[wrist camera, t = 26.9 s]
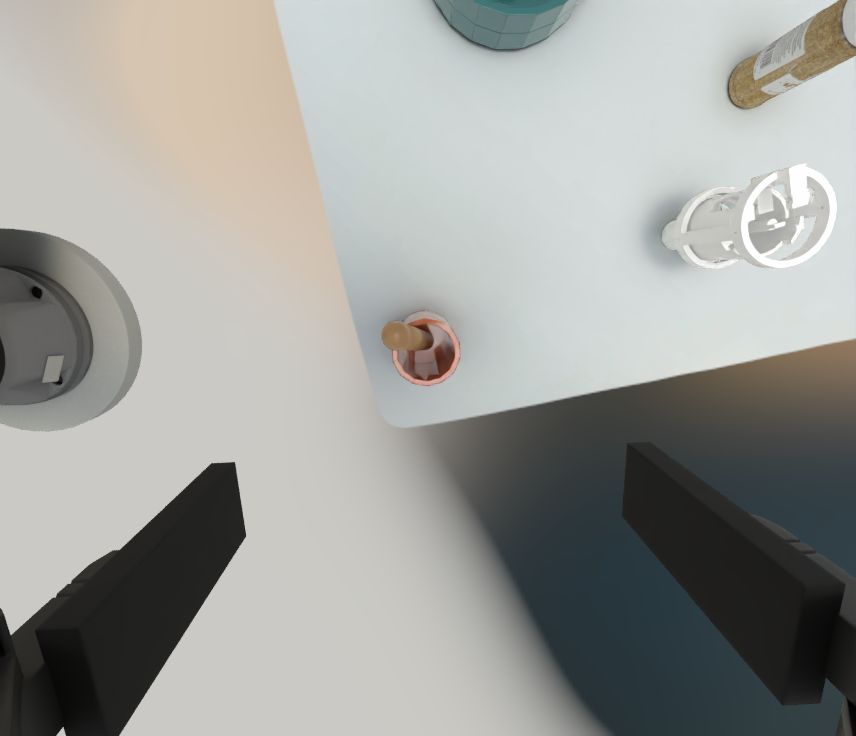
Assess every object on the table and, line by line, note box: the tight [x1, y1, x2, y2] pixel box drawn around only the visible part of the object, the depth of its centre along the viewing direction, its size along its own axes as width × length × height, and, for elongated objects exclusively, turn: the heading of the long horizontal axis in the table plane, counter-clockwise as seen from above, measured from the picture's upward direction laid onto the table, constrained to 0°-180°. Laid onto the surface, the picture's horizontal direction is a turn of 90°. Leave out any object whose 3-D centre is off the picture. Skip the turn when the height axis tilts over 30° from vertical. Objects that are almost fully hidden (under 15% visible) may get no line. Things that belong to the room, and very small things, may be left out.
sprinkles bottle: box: [729, 0, 856, 109], centre depth 35 cm, size 5×5×13 cm
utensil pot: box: [392, 311, 460, 386], centre depth 42 cm, size 6×6×8 cm
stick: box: [382, 321, 434, 351], centre depth 37 cm, size 2×2×18 cm
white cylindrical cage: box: [662, 164, 836, 269], centre depth 37 cm, size 7×7×15 cm
